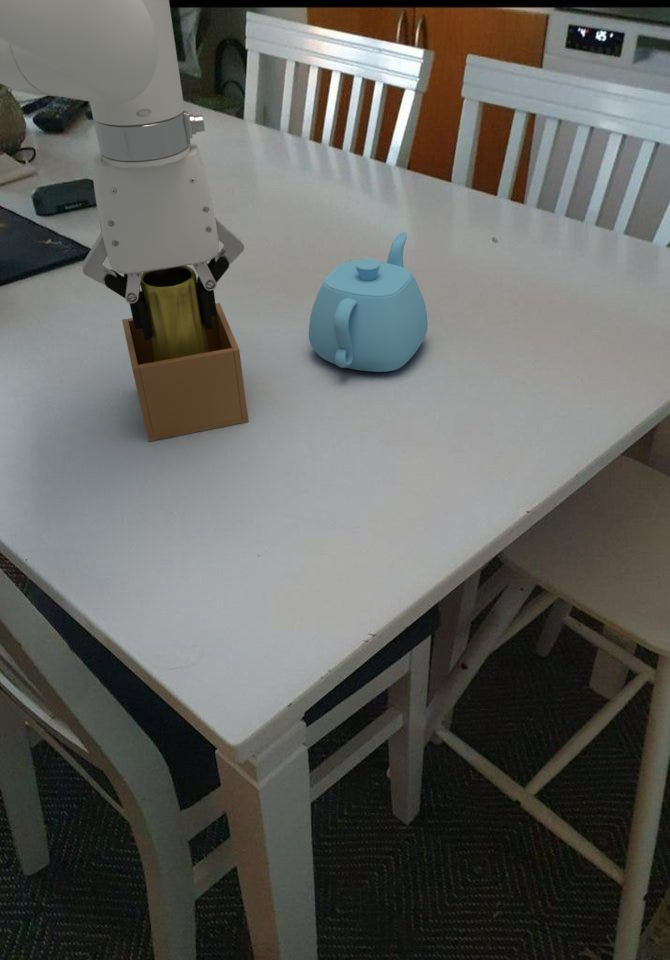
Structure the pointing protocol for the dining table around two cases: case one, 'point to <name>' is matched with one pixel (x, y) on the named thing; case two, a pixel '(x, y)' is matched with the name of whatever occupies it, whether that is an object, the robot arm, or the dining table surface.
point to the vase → (174, 312)
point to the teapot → (369, 314)
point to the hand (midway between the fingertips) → (176, 326)
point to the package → (189, 383)
